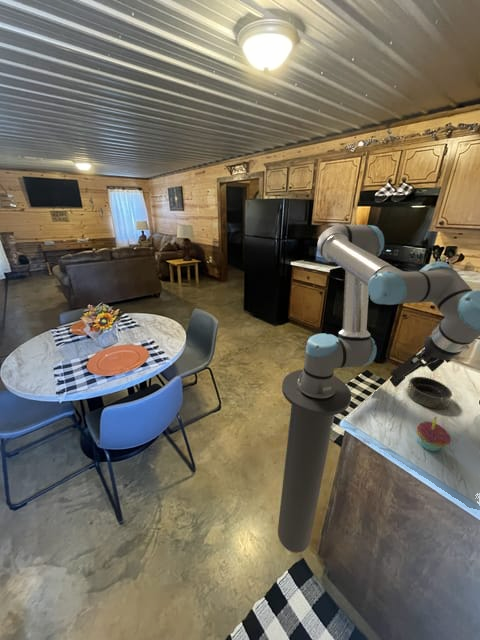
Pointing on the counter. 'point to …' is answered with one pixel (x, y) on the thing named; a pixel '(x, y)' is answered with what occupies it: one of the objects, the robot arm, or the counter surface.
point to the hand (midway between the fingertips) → (411, 375)
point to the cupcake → (433, 435)
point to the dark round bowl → (429, 392)
